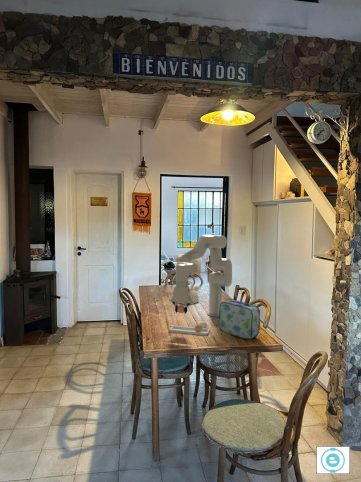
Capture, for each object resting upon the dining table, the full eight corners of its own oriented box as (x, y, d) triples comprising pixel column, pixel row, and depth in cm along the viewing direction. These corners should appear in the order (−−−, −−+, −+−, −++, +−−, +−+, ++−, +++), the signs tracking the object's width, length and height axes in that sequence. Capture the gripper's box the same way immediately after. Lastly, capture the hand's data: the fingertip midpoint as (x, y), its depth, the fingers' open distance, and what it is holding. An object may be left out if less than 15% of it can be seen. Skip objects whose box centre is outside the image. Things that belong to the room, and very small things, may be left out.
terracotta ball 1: (178, 311, 211) (178, 303, 211) (185, 312, 210) (186, 304, 210) (176, 313, 207) (176, 305, 206) (184, 314, 205) (184, 306, 205)
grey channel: (172, 329, 215) (172, 325, 215) (209, 332, 209) (209, 328, 209) (169, 333, 207) (169, 329, 207) (207, 337, 201) (207, 333, 201)
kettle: (203, 302, 281) (203, 281, 280) (181, 305, 272) (181, 283, 271) (192, 297, 299) (192, 277, 298) (171, 299, 290) (171, 279, 289)
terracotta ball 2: (195, 330, 210) (195, 322, 209) (203, 331, 209) (203, 323, 208) (193, 333, 205) (193, 325, 205) (201, 334, 204) (201, 326, 203)
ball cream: (200, 327, 218) (200, 319, 217) (207, 328, 216) (207, 320, 216) (198, 329, 213) (198, 322, 212) (206, 330, 212) (206, 322, 211)
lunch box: (262, 338, 201) (263, 304, 199) (252, 342, 193) (253, 307, 192) (227, 327, 219) (228, 296, 218) (217, 331, 212) (217, 299, 210)
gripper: (196, 283, 209) (195, 312, 210) (170, 282, 213) (169, 310, 214) (193, 286, 201) (193, 315, 203) (166, 284, 206) (166, 313, 207)
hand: (181, 312), depth 208 cm, fingers closed on terracotta ball 1, 4 cm apart
